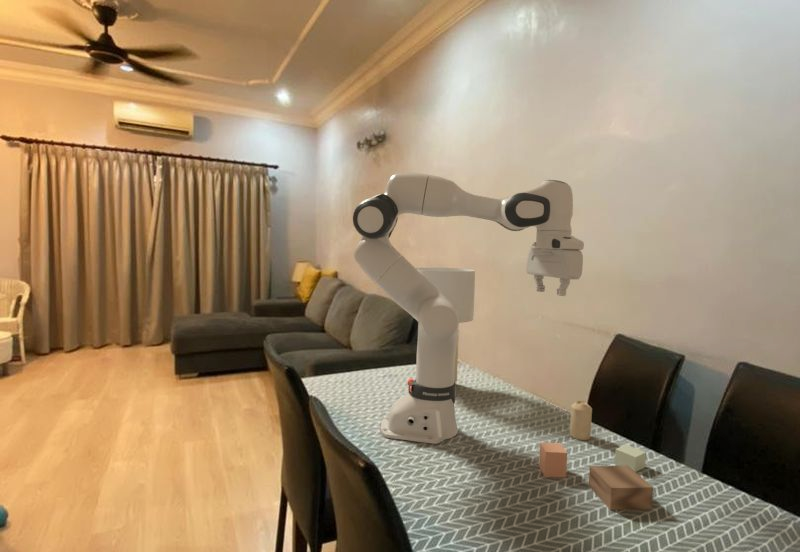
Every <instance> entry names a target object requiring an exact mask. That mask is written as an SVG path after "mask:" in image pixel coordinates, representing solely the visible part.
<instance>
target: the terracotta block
mask: <svg viewBox="0 0 800 552" xmlns="http://www.w3.org/2000/svg"><path fill="white" fill-rule="evenodd" d="M538 457H539V458H538V459H539V460H538V467H539V468H540V471H541V473H542V475H543V477H550V478H551V477H554V478H567V467H568V466H567V465H568V452H567V450H566V449H565V448H564V446H563V444H562V443H560V442H559V443H557V442H540V443H539V456H538Z"/></svg>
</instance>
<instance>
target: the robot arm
mask: <svg viewBox="0 0 800 552" xmlns="http://www.w3.org/2000/svg"><path fill="white" fill-rule="evenodd" d="M573 199H574V197H573V189H572V188H571V186H570V184H568V183H567V182H564V181H561V180H555V179H547V180H543V181H542V182H541V183H539V184H537V185H536V186H534V187H531V188H529V189H526V190H524V191H520V192H517V193H515V194H513V195H510V196H509V197H506V198H499V199H498V198H494V197H493V198H492V197H488V196H482V195H477V194H476V195H475V194H472V193H471V192H470V193H469V192H468V191H466V190H464V189H463V188H461V187H460V186H459V185H458V184H456V182H455V181H453V180H450V179H448V178H446V177H445V178H444V177H441V176H438V175H434V174H427V173H419V172H417V173H416V172H399V173H394V174H393V175H391V176H390V178H389V179H388V180H387V183H386V184H385V189H384V193H379V194H377V195H374V196H371V197H369V198H367V199H364V200H362V201H361V202H359V203H358V205H357V206H356V207H355V209H354V211H353V215H352V222H353V227H354V228H355V230H356V232H357V233H358V234H359V235H361V236H362V237H361V240H360V241H359V242H358V243H357V244H356V246H355V248H354V251H353V258H354V260H355V261H356V263H357V264H358V265H359V267H360V268H361V270H362V271H363V272H364V274H365V275H366V276H368V277H369V279H370V280H371V281H372V282H373V283H374V284H376V286H377V287H378V288H379V289H380V290H382V291H383V293H384V294H386V296H388V297H389V299H391V301H393V302H394V303H396V304H397V306H399V307H400V308H402V310H404V311H405V312H407V313H408V314H409V315H410V316H411V317H412V318H413V317H414V318H413V319H415V320H416V321H417V343H416V345H417V346H416V366H415V367H416V368H415V369H416V371H415V379H413V378H411V377H410V378H408V380H407V386H408V393H406V394H405V395H403V396H402V397H401V398H399V399H398V400H396V401H395V402H394V403H392V406H391V407H390V410H389V412H388V416H385V417H384V418H383V419H382V421H381V423H380V430H379V431H380V434H381V435H382V436H383V437H384V438H386V439H387V438H389V439H395V440H402V441H403V440H404V441H410V442H417V443H418V442H419V443H426V444H433V445H437V444H439V443H441V442H442V441H446V440H448V439H451V438H454V437H455V436H456V435H458V433H459V428H458V424H457V419H456V412H455V411H456V409H455V402H456V397H457V394H456V393H457V387H456V382H454V373H455V353H456V346H457V337H458V330H459V326H460V323H459V315H458V312H457V310H456V308H455V307H454V306H453V304H452V303H451V302H450V301H449V300H448V299H447V298H446V297H445V296H444V295H443V294H442V293H441V292H440V291H439V290H438V289H437V288H436V287H435V286H434V285H433V284H432V283H430V282H429V281H428V280H427V279H426V278H425V277H424V276H423V275H422V274H421V273H420V272H419V271H418V270H417V269H416V268H417V267H415V266H414V265H413V264H412V263H411V262H409V261H408V259H407V258H405V256H404V255H402V253H400V252H399V251H398V250H397V249H396V248H395V247H394V246H393V244H392V243H391V242H390V237H391V236H392V233H393V232H394V230H395V228H396V226H397V224H398V223H397V222H398V218H399V217H400V215H402V214H413V215H418V216H425V217H432V218H433V217H437V218H442V217H443V218H445V217H446V218H448V217H459V216H460V217H470V218H476V219H481V220H488V221H493V222H495V223H497V224H498V225H500V226H501V227H503V228H505V229H506V230H509V231H510V232H520V231H523V230H525V229H528V228H530V227H535V228H536V237H535V239H536V240H535V242H533V244H532V245H531V246H530V249H529V250H528V253H527V259H526V267H525V269H526V272H527V273H526V274H528V275H534V279H533V280H534V281H535V284H536V285H535V286H536V288H535V290H536V292H539V293H543V292H545V291H546V289H545V288H546V285H544V281H543V280H544V279H545V278H544V277H548V278H554V279H555V278H557V279H559V284H560V285H559V287H558V288H556V295H557V296H559V297H566V295H567V290H568V288H569V286H570V283H571V280H574V281H575V280H579V279H580V278H581V277H582V275H583V265H584V264H583V262H584V255H583V252H582V251H583V249H584V248H585V247H584V246H585V242H584V241H583V240H581V239H578V238H577V237H575V236H573V235H572V226H571V221H572V217H573V214H574V213H573V211H574V204H573V203H574V200H573ZM581 250H582V251H581Z"/></svg>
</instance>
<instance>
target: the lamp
mask: <svg viewBox="0 0 800 552" xmlns="http://www.w3.org/2000/svg"><path fill="white" fill-rule="evenodd" d="M415 268H416V269H417V270H418V271H419V272H420V273H421V274H422V275H423V276H424V277H425V278H426V279H427V280H428V281H429V282H430V283H432V284H433V285H434V286H435V287H436V288H437V289H438V290H439V291H440V292H441V293H442V294H443V295H444V296H445V297H446V298H447V299H448V300H449V301H450V302H451V303H452V304H453V306H454V307H455V308H456V310H457V312H458V315H459V324H462V323H463V324H464V323H469V322H472V321H474V312H475V311H474V307H475V291H476V290H475V289H476V288H475V286H476V270H475V269H471V268H457V267H456V268H455V267H415ZM412 318H413V319H415V318H414V317H412ZM459 333H460V330H459V329H458V337H457V346H456V353H455V373H454V382H455V383H457V381H458V364H459V363H458V362H459V340H460V339H459Z"/></svg>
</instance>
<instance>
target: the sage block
mask: <svg viewBox="0 0 800 552" xmlns="http://www.w3.org/2000/svg"><path fill="white" fill-rule="evenodd" d="M646 458H647V452H646V451H645V450H642V449H639V448H636V447H633V446H631V445H629V444H624V445H622V446H619V447H617V448H616V449H615V454H614V465H615V466H629V467H630V468H631V469H632V470H634V471H635V472H636V473H637V472H638V471H640V470H643V469H644V468H645V467H646Z"/></svg>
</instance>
